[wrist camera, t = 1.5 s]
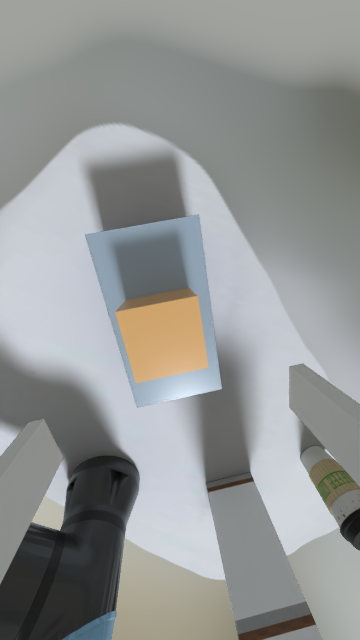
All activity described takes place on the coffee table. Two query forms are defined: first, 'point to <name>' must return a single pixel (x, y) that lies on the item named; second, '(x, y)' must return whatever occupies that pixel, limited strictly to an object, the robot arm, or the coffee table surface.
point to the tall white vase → (257, 566)
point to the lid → (159, 307)
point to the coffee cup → (335, 491)
